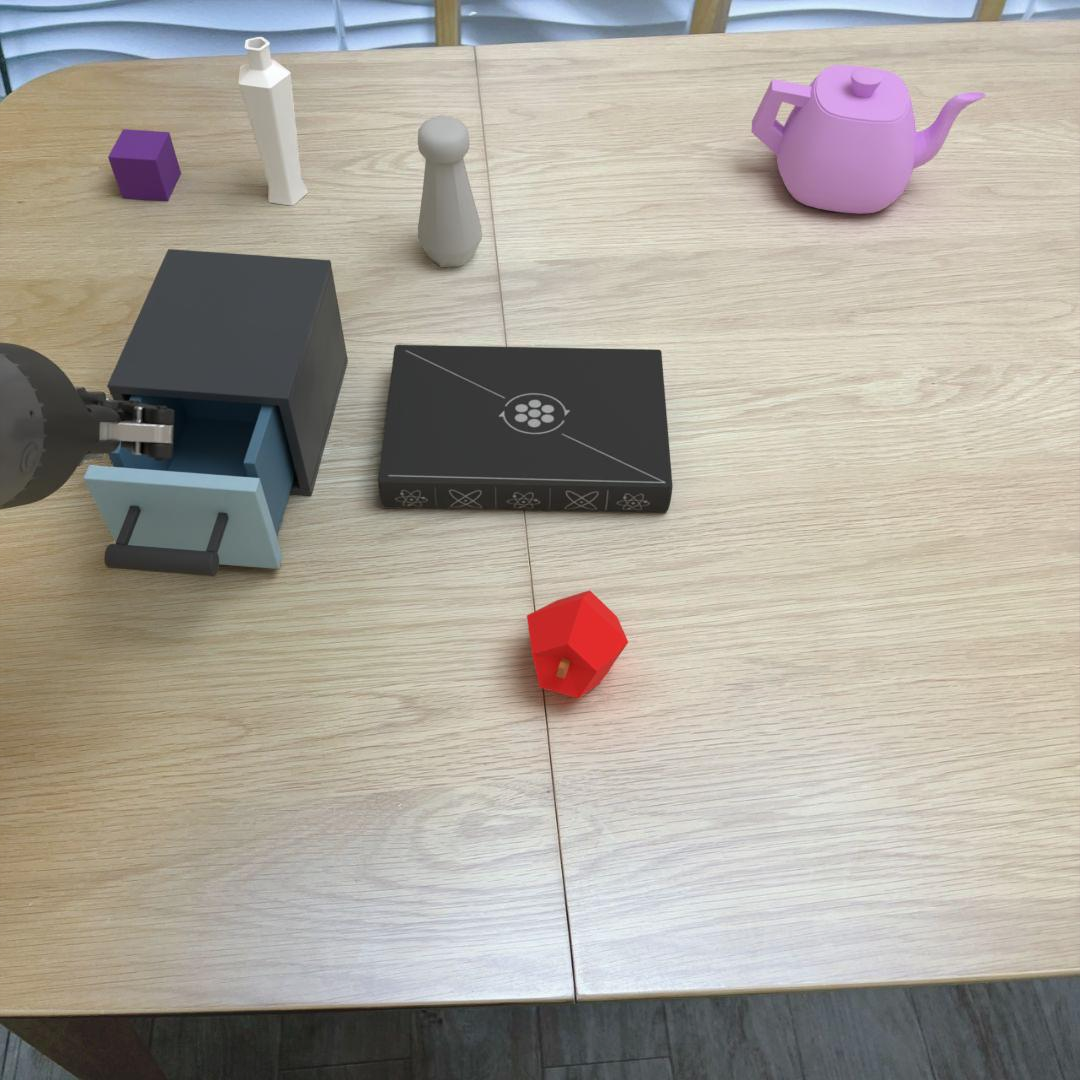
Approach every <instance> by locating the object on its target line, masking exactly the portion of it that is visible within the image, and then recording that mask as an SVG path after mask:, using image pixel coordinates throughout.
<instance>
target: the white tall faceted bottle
mask: <svg viewBox="0 0 1080 1080" xmlns="http://www.w3.org/2000/svg"><path fill="white" fill-rule="evenodd" d="M244 41H245V42H244V49H245V50H246V53H247V57H248V61H249V62H247V63H245V64H242V65H240V67H239V74H238V82H237V83H238V87H239V89H240V93H241V96H242V100H243V103H244V106H245V110H246V113H247V116H248V121H249V123H250V126H251V130H252V133H253V137H254V140H255V144H256V147H257V150H258V153H259V157H260V161H261V164H262V168H263V170H264V173H265V177H266V181H267V184H268V192H267V193H268V196H267V200H268V201H267V202H268V203H271V204H278V205H283V206H284V205H285V206H295V205H296V204H297V203H298V202H299V201H301V200H303V198H304V197H305V196H306V195H307V194H308V193H309V191H308V189H307V187H306V185H305V183H304V181H303V179H302V171H301V162H300V154H299V153H300V151H299V142H298V133H297V124H296V114H295V104H294V95H293V94H294V93H293V84H292V75H291V71H290V70H288V69H287V68H286V67H285V66H283V65H282V64H280V63H279V62H278V61H276V60H275V59H272V56H271V50H270V44H271V43H270V41H269V40H267V39H266V38H264V37H263V36H257V37H252V38H248V39H246V40H244Z"/></svg>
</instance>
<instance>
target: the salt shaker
mask: <svg viewBox="0 0 1080 1080" xmlns="http://www.w3.org/2000/svg"><path fill="white" fill-rule="evenodd" d="M417 147H418V152H419V153H420V154H421V156H422V157H423V158H424V159H425V164H424V173H423V183H422V192H421V201H420V207H419V208H420V209H419V215H418V223H417V239H418V242H419V245H420V246H421V247H422V249H423V251H424V252H425V254H426V256H427V257H428V258H429V259H430V260H431V261H433V262H434V263H435V264H436V265H438V266H439V267H440V268H453V267H463V266H464V265H465V264H466V263H467V262H468V261H469V260H471V258H473V257H474V255H475V253H476V251H477V250H478V248H479V245H480V243H481V242H482V238H483V230H482V223H481V220H480V216H479V213H478V209H477V204H476V202H475V198H474V195H473V190H472V187H471V183H470V180H469V176H468V172H467V167H466V163H465V160H464V158H465V157H466V155H467V153H468V152H469V150H470V134H469V130H468V126H466V124H465V123H464V122H463V121H461V120H460V119H458V118H455V117H453V116H449V115H448V116H447V115H438V116H433V117H430V118H428V119H427V120H425V121H424V122H423V123H422V124H421V125H420V127H419V128H418V131H417Z"/></svg>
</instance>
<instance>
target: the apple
mask: <svg viewBox="0 0 1080 1080" xmlns="http://www.w3.org/2000/svg"><path fill="white" fill-rule="evenodd" d="M526 619H527V627H528V633H529V635H528V636H529V641H530V642H529V643H530V649H531V656H532V660H533V664H534V665H533V666H534V668H535V673H536V677H537V681H538V686H539V688H540V689H544V690H546V691H547V690H548V691H551V692H555V693H558V694H562V695H566V696H569V697H572V698H577V699H581V698H582V697H583V696H584V695H587V693H589V692H591V691H592V690H593V689H595V688H596V687H597V686H599V685H600V684H601V682H602V681H603V680H604V679H605V677H606V676H607V674H608V673H609V671H610V670H611V669H612V667H613V666H614V664H615V662H616V661H617V659H618V658H619V657H620V656H621V654H622V652H623V651H624V649H625V648H626V646H627V645H628V644H629V641H628V637H627V635H626V634H625V633H626V632H625V631H624V629H623V627H622V624H621V622H620V619H619V618H618V616H617V615H616V614H615V613H614V612H613V611H612V610H611V609H610V608H609V607H608V606H607V605H606V604H605V603H604V602H603V601H602V600H601V599H600V598H599V597H598V596H597V595H595V594H594V592H593V591H592V590H590V589H589V590H586V591H582V592H579V593H577V594H573V595H570V596H567V597H564V598H560V599H558V600H557V599H556V600H555V601H553V602H551V603H548V604H546V605H544V606H543V607H540V608H539V609H536V610H535V611H532V612H531V613H529V614H527V615H526Z"/></svg>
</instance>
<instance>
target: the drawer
mask: <svg viewBox="0 0 1080 1080" xmlns="http://www.w3.org/2000/svg"><path fill="white" fill-rule="evenodd" d="M130 400H136V401H139V403H141V404H148V405H153V406H167V408H168V409H172V410H174V424H172V425H174V430H173V443H172V444H173V453H172V458H165V461H159V460H154V458H152V457H147V456H144V455H134V454H132V451H127V450H126V449H123V448H121V441H120V444H119V447H118V448H117V449H116V450H115V451H114V452H111V453H107V455H108V457H109V460H110V462H111V464H112V466H110V465H109V466H107V465H93V464H89V465H88V467H87V469H86V472H85V474H84V475H83V481H84V482H85V484H86V486H87V489H88V490H89V492H90V494H91V496H92V498H93V500H94V503H95V504H96V507H97V509H98V510H99V512H100V514H101V516H102V518H103V520H104V522H105V525H106V526H107V528H108V530H109V533H110V535H111V537H112V539H113V540H114V542H115V543H109V544H108V545H107V546H106V548H105V550H104V556H103V557H104V558H103V559H104V565H105V566H106V568H108V569H113V570H115V569H116V570H124V571H125V570H126V571H139V572H152V573H162V574H163V573H165V574H175V575H176V574H177V575H190V576H201V577H212V578H213V577H216V576H217V574H218V571H219V568H220V565H223V566H235V567H237V566H238V567H247V568H248V567H249V568H260V569H261V568H262V569H273V570H279V569H280V568H281V563H282V559H283V557H284V556H283V552H282V548H281V546H280V542H279V539H278V535H279V532H280V528H281V526H282V521H283V518H284V514H285V511H286V507H287V504H288V501H289V498H290V497H289V496H290V495H291V494H290V490H291V487H292V483H293V480H294V476H295V473H296V471H295V467H294V463H293V459H292V455H291V451H290V447H289V443H288V439H287V435H286V431H285V428H284V424H283V420H282V416H281V412H280V408H279V406H278V405H265V404H251V403H238V402H224V401H211V400H197V399H184V398H171V397H157V396H144V395H131V397H130Z"/></svg>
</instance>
